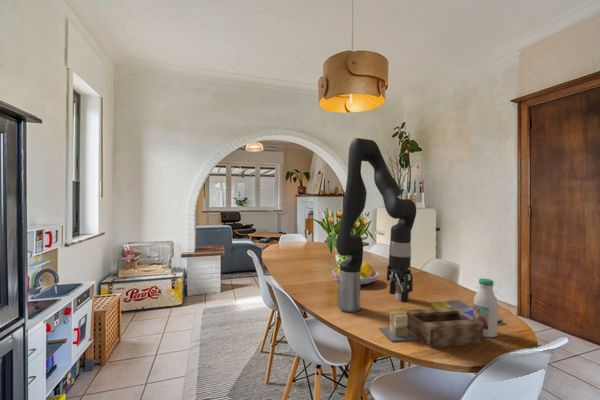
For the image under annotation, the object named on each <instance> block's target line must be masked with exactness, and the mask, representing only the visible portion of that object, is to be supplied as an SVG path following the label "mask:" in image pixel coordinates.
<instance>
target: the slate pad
mask: <svg viewBox="0 0 600 400" xmlns="http://www.w3.org/2000/svg"><path fill="white" fill-rule="evenodd" d="M378 329H379V331H380V332H381V333H382V334H383V335H384V336H385V337H386V338H387V339H388V340H389V342H391V343H396V342H399V343H400V342H409V341H410V342H411V341H412V342H413V341H419V338H418V337H417V336H416V335H414V334H413V333H412V332H411V331H410V330H408V329H407V336H395V335H394V334H393V333H391V332H390V326H387V327H379V328H378Z"/></svg>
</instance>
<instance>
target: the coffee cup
mask: <svg viewBox="0 0 600 400" xmlns="http://www.w3.org/2000/svg"><path fill="white" fill-rule="evenodd" d="M411 272H412V270H411V269H410V268H408V269H407V274H412V273H411ZM395 284H396V294H395V300H396V301H399V302H401V292H402V291H401V287H400V286H399V285H398V282H396V283H395ZM408 286H409V285H408ZM403 287H404V286H403ZM409 297H410V292H408V300H409Z"/></svg>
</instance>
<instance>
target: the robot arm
mask: <svg viewBox="0 0 600 400" xmlns="http://www.w3.org/2000/svg"><path fill="white" fill-rule="evenodd" d="M347 158H348V164H347V174H346V175H347V177H346V185H345V186H346V187H345V192H344V197H343V206H342V207H343V208H342V213H341V214H342V216H341V220H340V224H339V227H338V228H339V229H338V234H337V238H336V242H335V243H336V244H335V245H336V251H337V253H338V254H339V256H345V257H346V256H348V257H346V259H345V260H343V261H342V262H340V263H339V267H340V280H339V285H338V286H337V308H338V309H339V310H340V311H342V312H348V313H355V312H358V311H360V310H361V285H360V275H361V266H362V263H363V259H364V257H363V256H364V241H363V238H362V237H361V236H360V234H356V233H355V234H353V233H352V230H353V227H354V225H355V223H356V222H357V221H358V219H359V218H360V216H361V215H362V213H363V211H364V210H365V207H366V201H367V188H366V185H365V182H364V180H363V177H362V162H367V163H368V164H369V165H371V167H372V169H373V171H374V174H373V175H374V176H373V178H374V184H375V186H376V188H377V191H378V192H379V193H380V195H381V196H382V200H383V203H384V208H385V211H386V212H387V214H388V216H390V217H391V218H393V219H398V221H397V223H396V224H394V225H392V226H391V228H390V237H389V238H390V239H389V240H390V243H389V248H388V251H389V252H388V253H389V254H388V265H387V267H386V268H387V269H386V271H387V272H386V281H387V282H388V283H389V294H390V295H396V284H395V283H396V282H398V285H399V286H400V287H401V291H402V292H401V301H400V302H401V303H404V304H405V303H408V302H409V299H408V292H409V293H412V292H413V281H414V280H413V274H412V273H411V274H407V269H410V268H411V262H412V244H411V243H412V242H411V240H412V229H413V227H414V224H415V219H416V215H417V205H416V203H415V202H414V201H413V200H412V199H408V198H407V199H406V198H403V199H402V198H399V196H400V194H401V187H400V185H398V183H397V181H396V180H395V179H394V177H393V175H392V174H391V172H390V171H389V168H388V167H387V164H386V162H385V159H384V157H383V155H382V152H381V150H380V147H379V146H378V144H377V142H376V141H375V140H373V139H366V138H361V137H359V138H358V137H355V138H353V140H351V142H350V145H349V148H348V157H347ZM408 285H409V286H408ZM403 286H404V287H403Z"/></svg>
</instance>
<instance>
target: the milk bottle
mask: <svg viewBox="0 0 600 400" xmlns="http://www.w3.org/2000/svg"><path fill="white" fill-rule="evenodd" d="M478 286H479V288H478V290H477V292H476V294H475V295H474V298H473V319H476V320H478V321H480V322H482V323H483V337H486V338H496V337H497V335H498V326H497V323H498V317H499V316H498V315H499V313H498V312H499V311H498V309H499V307H498V306H499V305H498V300H497V297H496V295H495V293H494V289H493V288H494V280H492V279H490V278H483V277H481V278H479V279H478Z"/></svg>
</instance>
